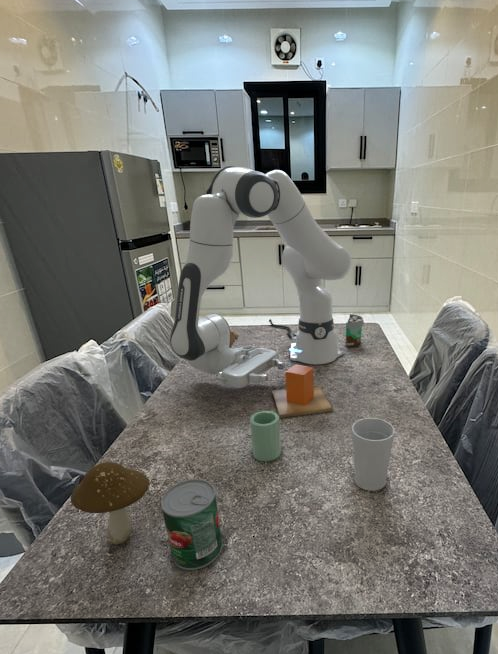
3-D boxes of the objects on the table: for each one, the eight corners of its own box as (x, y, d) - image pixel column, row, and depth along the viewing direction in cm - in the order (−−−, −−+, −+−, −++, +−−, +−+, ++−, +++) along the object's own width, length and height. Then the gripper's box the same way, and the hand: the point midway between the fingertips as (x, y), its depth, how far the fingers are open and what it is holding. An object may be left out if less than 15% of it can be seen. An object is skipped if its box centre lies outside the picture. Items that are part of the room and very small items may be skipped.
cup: (343, 473, 79) (344, 423, 74) (376, 463, 81) (379, 414, 77) (362, 498, 72) (365, 445, 67) (398, 486, 75) (403, 434, 70)
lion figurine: (242, 352, 142) (240, 329, 138) (230, 356, 138) (227, 333, 135) (220, 343, 151) (218, 321, 148) (208, 346, 148) (206, 324, 144)
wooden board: (272, 393, 111) (272, 390, 111) (319, 388, 114) (319, 385, 114) (279, 418, 99) (279, 414, 98) (332, 411, 102) (332, 407, 101)
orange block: (286, 401, 105) (285, 371, 101) (296, 392, 109) (295, 364, 106) (304, 405, 103) (303, 375, 99) (314, 396, 107) (313, 367, 103)
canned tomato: (161, 561, 60) (148, 507, 55) (192, 524, 67) (182, 474, 62) (204, 577, 57) (194, 521, 53) (232, 537, 64) (225, 485, 60)
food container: (361, 349, 143) (362, 323, 139) (345, 348, 144) (346, 322, 140) (364, 338, 154) (365, 314, 150) (349, 337, 155) (349, 313, 151)
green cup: (251, 446, 88) (248, 412, 84) (278, 443, 89) (276, 409, 85) (254, 463, 82) (251, 427, 78) (283, 459, 83) (281, 423, 80)
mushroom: (151, 560, 60) (131, 484, 54) (76, 565, 60) (48, 489, 54) (167, 516, 69) (152, 446, 63) (102, 520, 68) (80, 450, 62)
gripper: (210, 366, 103) (253, 376, 97) (254, 343, 119) (293, 350, 114) (213, 388, 105) (255, 398, 99) (255, 361, 122) (293, 369, 116)
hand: (275, 372), depth 107 cm, fingers open, 8 cm apart
